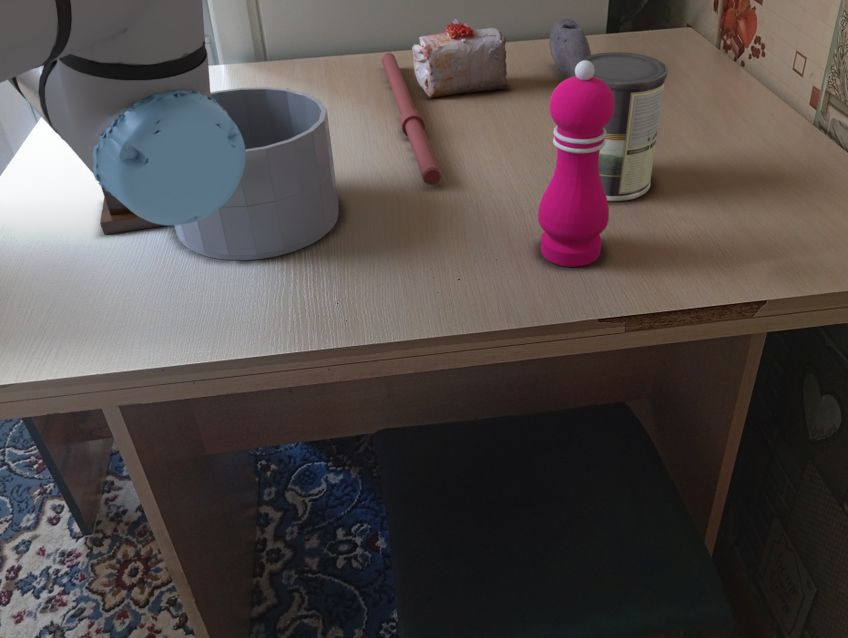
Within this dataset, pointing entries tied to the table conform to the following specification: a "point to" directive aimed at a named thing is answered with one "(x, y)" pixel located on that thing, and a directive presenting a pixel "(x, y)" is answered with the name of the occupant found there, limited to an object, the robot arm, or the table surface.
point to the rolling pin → (411, 122)
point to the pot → (272, 179)
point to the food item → (460, 61)
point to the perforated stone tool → (568, 45)
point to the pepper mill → (576, 170)
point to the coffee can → (629, 121)
